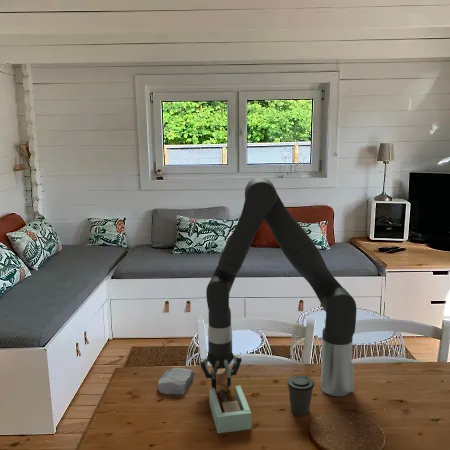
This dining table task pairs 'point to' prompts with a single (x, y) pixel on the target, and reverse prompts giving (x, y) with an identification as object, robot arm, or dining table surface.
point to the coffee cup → (300, 394)
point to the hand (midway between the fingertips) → (221, 387)
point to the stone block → (175, 381)
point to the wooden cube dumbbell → (222, 388)
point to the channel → (230, 413)
